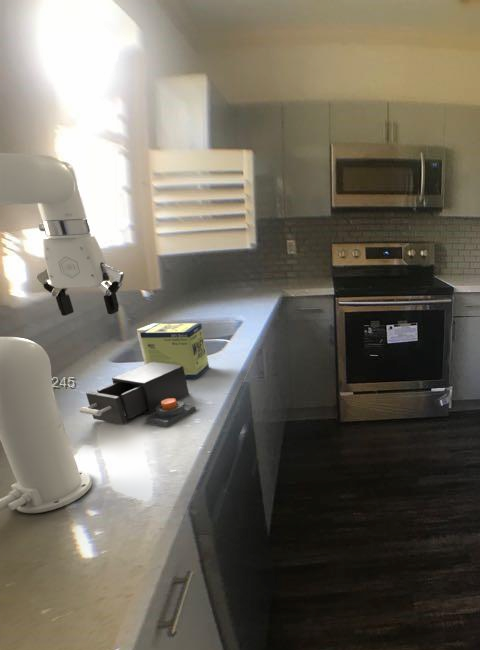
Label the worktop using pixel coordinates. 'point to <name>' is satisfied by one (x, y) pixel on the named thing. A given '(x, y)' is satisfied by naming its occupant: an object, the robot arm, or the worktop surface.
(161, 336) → the protein box
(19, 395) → the robot arm
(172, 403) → the button
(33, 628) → the worktop surface
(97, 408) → the drawer
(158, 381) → the dark grey cabinet
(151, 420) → the block
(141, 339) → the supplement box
